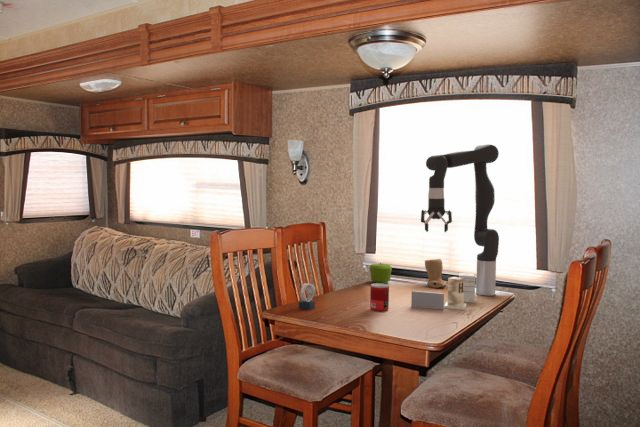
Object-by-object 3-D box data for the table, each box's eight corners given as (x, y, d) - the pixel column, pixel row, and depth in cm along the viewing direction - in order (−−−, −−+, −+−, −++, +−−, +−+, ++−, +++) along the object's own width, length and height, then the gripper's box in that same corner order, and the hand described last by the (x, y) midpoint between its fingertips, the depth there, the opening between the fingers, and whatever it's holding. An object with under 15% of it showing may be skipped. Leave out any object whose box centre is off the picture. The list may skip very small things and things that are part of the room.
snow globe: (316, 307, 230) (317, 282, 229) (307, 311, 223) (307, 285, 222) (306, 306, 233) (306, 281, 232) (296, 309, 226) (296, 284, 225)
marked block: (447, 304, 235) (448, 278, 234) (454, 303, 238) (454, 276, 237) (457, 306, 231) (458, 279, 230) (464, 305, 234) (464, 278, 233)
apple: (385, 285, 284) (385, 265, 284) (365, 283, 291) (365, 263, 291) (395, 282, 295) (395, 262, 294) (375, 280, 302) (376, 260, 301)
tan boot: (426, 282, 295) (426, 256, 294) (447, 284, 291) (448, 257, 290) (421, 287, 281) (422, 259, 280) (444, 289, 277) (444, 261, 276)
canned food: (387, 312, 222) (388, 286, 222) (369, 311, 224) (369, 285, 223) (389, 308, 230) (389, 283, 229) (371, 307, 232) (371, 282, 231)
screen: (411, 306, 235) (412, 290, 235) (443, 308, 230) (444, 293, 230) (411, 306, 233) (411, 291, 233) (443, 309, 229) (443, 293, 228)
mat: (446, 304, 240) (446, 301, 240) (466, 305, 237) (466, 303, 237) (444, 308, 232) (444, 305, 232) (465, 309, 229) (465, 307, 229)
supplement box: (457, 298, 253) (458, 272, 252) (473, 299, 251) (474, 273, 251) (458, 301, 246) (459, 275, 245) (474, 302, 244) (475, 275, 243)
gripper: (452, 197, 248) (452, 231, 249) (422, 197, 253) (422, 230, 254) (450, 198, 241) (450, 232, 242) (420, 197, 246) (419, 232, 247)
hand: (436, 231), depth 248 cm, fingers open, 8 cm apart
